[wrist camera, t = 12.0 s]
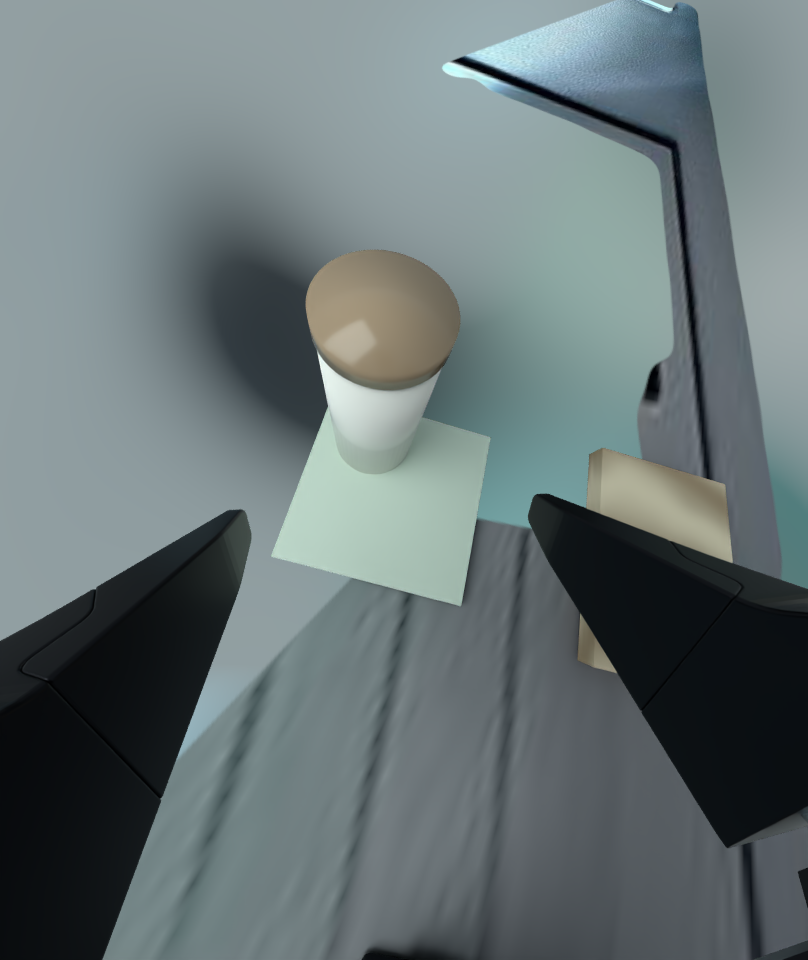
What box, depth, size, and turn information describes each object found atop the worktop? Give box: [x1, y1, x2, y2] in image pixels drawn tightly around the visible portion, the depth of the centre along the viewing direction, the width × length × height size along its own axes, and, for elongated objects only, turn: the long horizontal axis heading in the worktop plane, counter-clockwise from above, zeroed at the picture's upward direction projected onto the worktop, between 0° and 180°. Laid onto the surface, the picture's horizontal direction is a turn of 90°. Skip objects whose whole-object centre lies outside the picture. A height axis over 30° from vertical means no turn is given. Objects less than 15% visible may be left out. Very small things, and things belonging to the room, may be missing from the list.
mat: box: [271, 406, 491, 606], centre depth 22 cm, size 13×13×1 cm
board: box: [578, 448, 733, 673], centre depth 23 cm, size 16×11×2 cm
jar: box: [306, 250, 460, 474], centre depth 17 cm, size 6×6×12 cm
